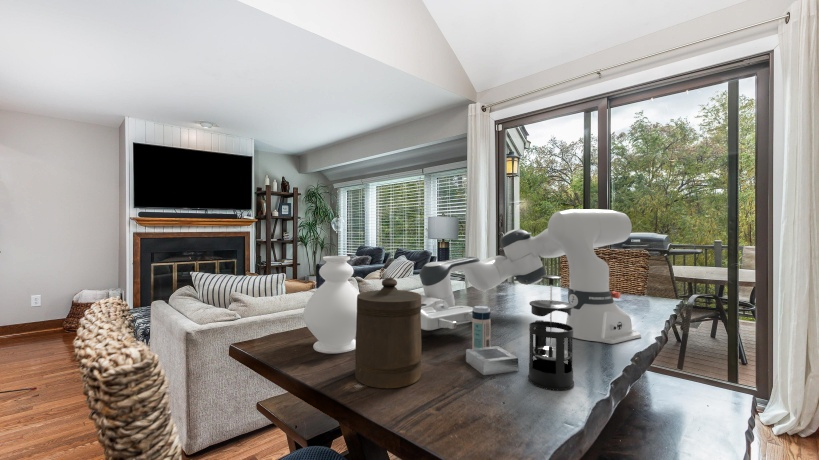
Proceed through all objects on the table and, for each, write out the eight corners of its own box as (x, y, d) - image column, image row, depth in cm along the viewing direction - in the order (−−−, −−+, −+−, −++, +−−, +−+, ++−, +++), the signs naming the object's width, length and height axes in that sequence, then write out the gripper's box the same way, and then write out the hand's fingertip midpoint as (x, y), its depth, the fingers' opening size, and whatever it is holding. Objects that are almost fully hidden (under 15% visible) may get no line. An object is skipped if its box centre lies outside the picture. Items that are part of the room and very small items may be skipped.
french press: (584, 391, 76) (585, 279, 75) (539, 393, 75) (540, 279, 75) (557, 369, 87) (558, 272, 87) (518, 370, 87) (519, 272, 86)
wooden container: (425, 365, 90) (425, 274, 90) (415, 392, 75) (415, 283, 75) (366, 361, 92) (366, 273, 92) (345, 386, 78) (345, 281, 78)
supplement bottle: (489, 348, 102) (489, 305, 102) (491, 354, 97) (491, 309, 97) (471, 348, 102) (471, 304, 102) (472, 354, 98) (473, 308, 98)
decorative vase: (377, 351, 100) (377, 258, 100) (310, 361, 92) (310, 260, 92) (357, 333, 116) (357, 253, 116) (298, 341, 108) (298, 255, 108)
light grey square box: (497, 357, 95) (497, 346, 95) (518, 370, 86) (518, 357, 86) (465, 361, 92) (466, 349, 92) (483, 375, 84) (483, 362, 84)
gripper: (460, 318, 122) (492, 328, 110) (409, 328, 110) (439, 340, 99) (460, 299, 121) (492, 306, 110) (409, 307, 110) (439, 316, 98)
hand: (466, 322), depth 104 cm, fingers open, 8 cm apart
